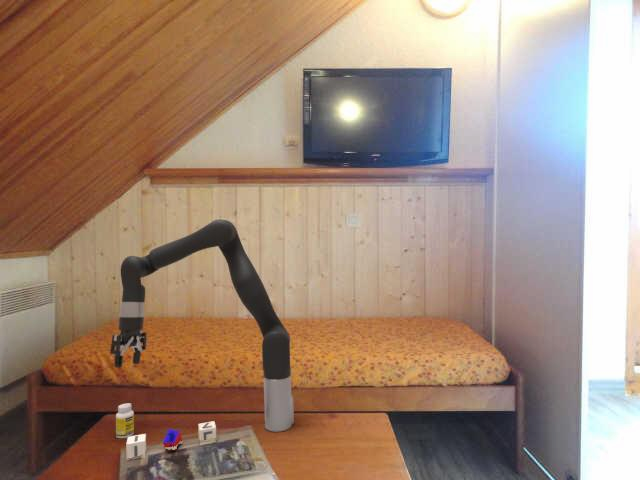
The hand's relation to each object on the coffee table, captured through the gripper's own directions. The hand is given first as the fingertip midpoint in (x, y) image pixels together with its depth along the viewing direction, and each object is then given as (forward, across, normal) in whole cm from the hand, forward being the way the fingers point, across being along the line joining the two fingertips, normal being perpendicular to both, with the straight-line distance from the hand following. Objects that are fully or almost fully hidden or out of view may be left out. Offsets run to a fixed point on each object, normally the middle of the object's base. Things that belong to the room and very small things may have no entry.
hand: (127, 365), depth 132 cm
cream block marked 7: (+23, +6, -28) cm, 36 cm away
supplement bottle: (+23, +4, +2) cm, 24 cm away
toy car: (+24, 0, -19) cm, 31 cm away
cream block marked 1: (+25, -6, -11) cm, 28 cm away
